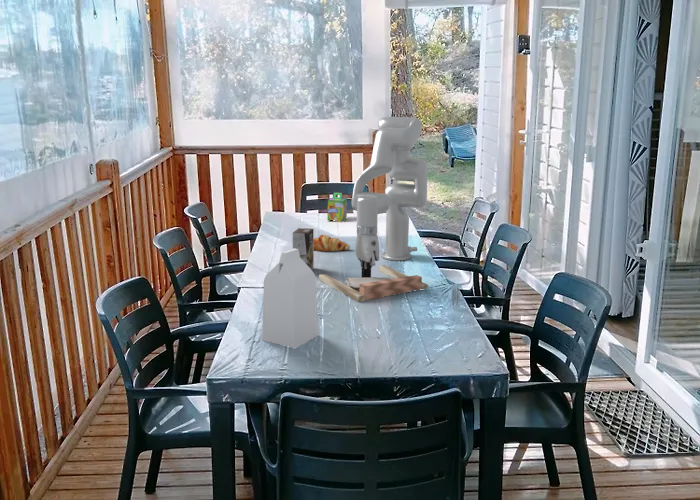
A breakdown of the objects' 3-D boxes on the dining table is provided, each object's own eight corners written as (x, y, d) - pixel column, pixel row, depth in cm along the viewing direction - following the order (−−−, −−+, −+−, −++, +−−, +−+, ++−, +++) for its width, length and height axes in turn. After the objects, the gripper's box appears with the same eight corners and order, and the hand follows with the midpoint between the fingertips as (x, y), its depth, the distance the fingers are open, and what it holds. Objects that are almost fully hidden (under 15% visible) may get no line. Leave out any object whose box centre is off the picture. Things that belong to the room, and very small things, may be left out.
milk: (294, 348, 182) (293, 258, 176) (262, 340, 188) (260, 252, 181) (319, 335, 192) (319, 249, 185) (287, 327, 198) (286, 243, 191)
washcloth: (344, 283, 243) (344, 275, 242) (392, 283, 245) (392, 275, 244) (347, 293, 231) (347, 285, 231) (397, 292, 233) (398, 284, 232)
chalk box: (327, 221, 350) (327, 194, 347) (330, 218, 359) (330, 191, 356) (344, 222, 349) (344, 194, 345) (347, 218, 358) (347, 192, 354)
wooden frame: (384, 270, 260) (384, 257, 259) (427, 289, 236) (428, 276, 234) (319, 279, 246) (319, 267, 245) (358, 302, 221) (358, 287, 220)
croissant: (350, 256, 294) (352, 239, 296) (348, 251, 284) (350, 233, 286) (303, 253, 296) (305, 236, 298) (300, 248, 286) (302, 230, 288)
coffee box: (308, 274, 253) (308, 233, 249) (292, 272, 255) (291, 232, 251) (314, 267, 262) (314, 228, 258) (298, 266, 263) (298, 227, 259)
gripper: (386, 233, 235) (385, 281, 240) (365, 225, 248) (364, 271, 253) (368, 235, 232) (367, 284, 236) (348, 227, 244) (347, 274, 249)
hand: (366, 277), depth 245 cm, fingers closed
